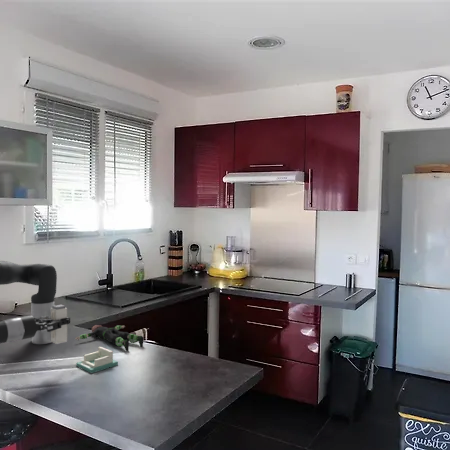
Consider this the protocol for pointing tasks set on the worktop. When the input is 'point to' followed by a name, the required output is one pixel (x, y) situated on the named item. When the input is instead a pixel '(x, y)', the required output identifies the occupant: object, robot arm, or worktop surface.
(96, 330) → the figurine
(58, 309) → the cream rectangular block
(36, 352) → the worktop surface
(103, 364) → the green base socket
